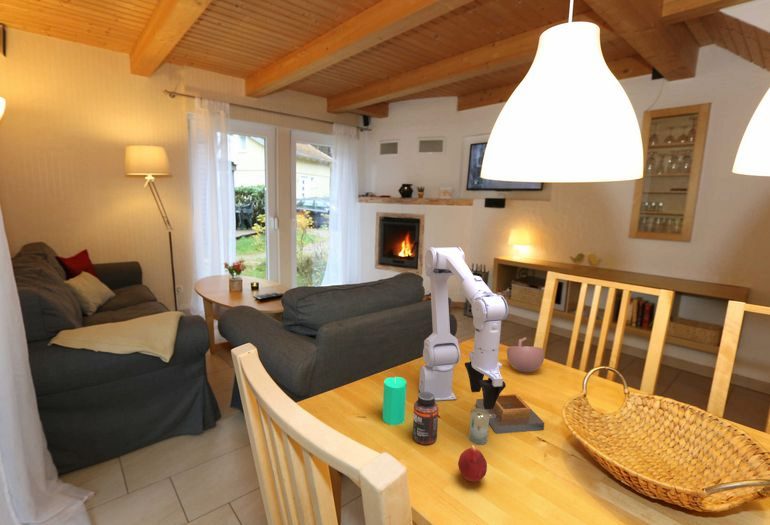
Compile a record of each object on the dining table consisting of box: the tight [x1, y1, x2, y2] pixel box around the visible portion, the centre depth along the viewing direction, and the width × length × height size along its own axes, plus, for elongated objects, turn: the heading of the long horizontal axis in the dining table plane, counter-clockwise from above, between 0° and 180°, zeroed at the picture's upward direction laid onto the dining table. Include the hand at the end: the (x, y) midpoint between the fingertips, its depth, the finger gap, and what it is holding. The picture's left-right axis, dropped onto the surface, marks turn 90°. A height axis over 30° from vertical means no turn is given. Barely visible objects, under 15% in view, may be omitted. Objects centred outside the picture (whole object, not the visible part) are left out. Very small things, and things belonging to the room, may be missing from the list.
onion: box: [457, 444, 488, 483], centre depth 80 cm, size 6×6×8 cm
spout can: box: [468, 407, 496, 446], centre depth 94 cm, size 6×4×7 cm
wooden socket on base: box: [475, 393, 545, 435], centre depth 104 cm, size 13×13×4 cm
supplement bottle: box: [412, 392, 439, 445], centre depth 93 cm, size 6×6×11 cm
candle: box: [382, 376, 407, 426], centre depth 101 cm, size 6×6×12 cm
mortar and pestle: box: [506, 336, 545, 373], centre depth 132 cm, size 12×12×12 cm
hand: (481, 399), depth 93 cm, fingers open, 7 cm apart
